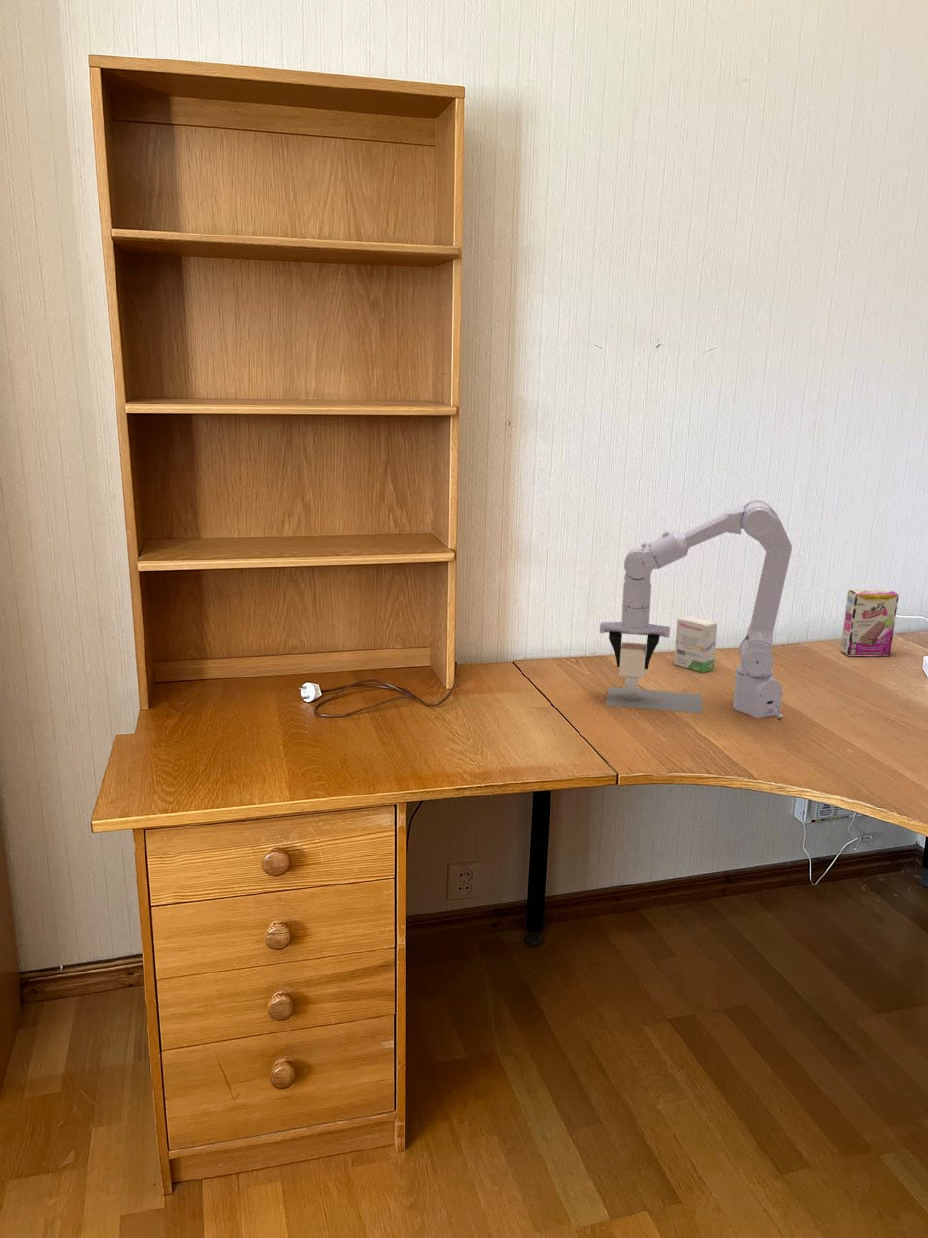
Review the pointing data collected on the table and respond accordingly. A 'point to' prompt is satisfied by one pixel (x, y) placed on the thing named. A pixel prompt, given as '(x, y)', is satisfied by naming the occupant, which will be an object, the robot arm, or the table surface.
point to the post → (631, 688)
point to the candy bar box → (869, 622)
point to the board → (656, 700)
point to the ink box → (695, 644)
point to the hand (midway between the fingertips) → (632, 666)
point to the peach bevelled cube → (632, 659)
